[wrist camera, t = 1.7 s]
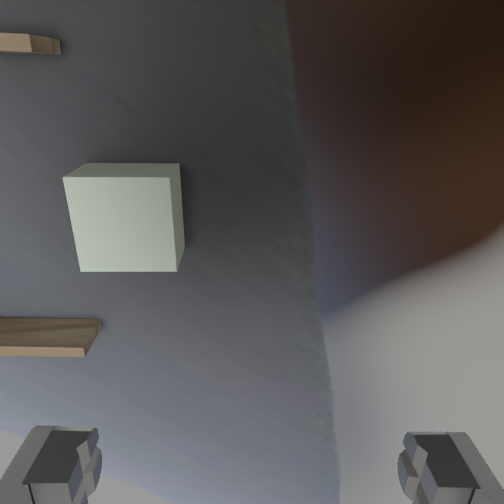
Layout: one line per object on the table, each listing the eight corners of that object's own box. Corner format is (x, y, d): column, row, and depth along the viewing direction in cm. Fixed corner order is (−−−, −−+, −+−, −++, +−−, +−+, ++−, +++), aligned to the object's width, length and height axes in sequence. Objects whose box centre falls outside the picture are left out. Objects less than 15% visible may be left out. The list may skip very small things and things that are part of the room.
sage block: (87, 162, 26) (62, 177, 22) (179, 162, 26) (169, 177, 22) (101, 246, 28) (80, 271, 25) (185, 246, 28) (176, 271, 25)
